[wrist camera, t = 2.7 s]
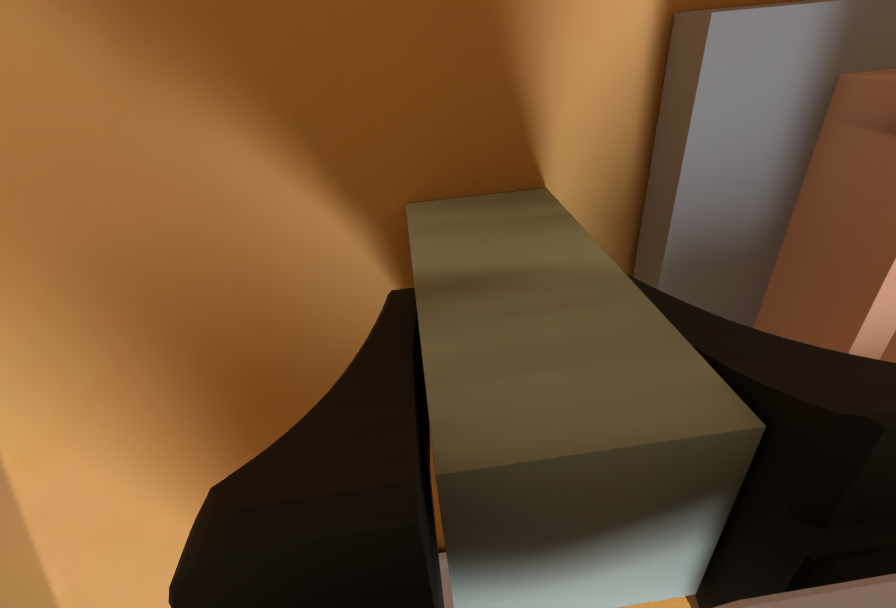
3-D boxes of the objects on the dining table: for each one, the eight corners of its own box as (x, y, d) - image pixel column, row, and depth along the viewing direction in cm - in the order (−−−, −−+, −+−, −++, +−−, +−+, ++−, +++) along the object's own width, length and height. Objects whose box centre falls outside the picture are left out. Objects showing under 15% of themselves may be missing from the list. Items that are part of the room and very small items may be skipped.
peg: (541, 306, 15) (695, 593, 8) (420, 321, 15) (457, 634, 8) (546, 187, 13) (766, 426, 6) (405, 203, 13) (435, 476, 5)
